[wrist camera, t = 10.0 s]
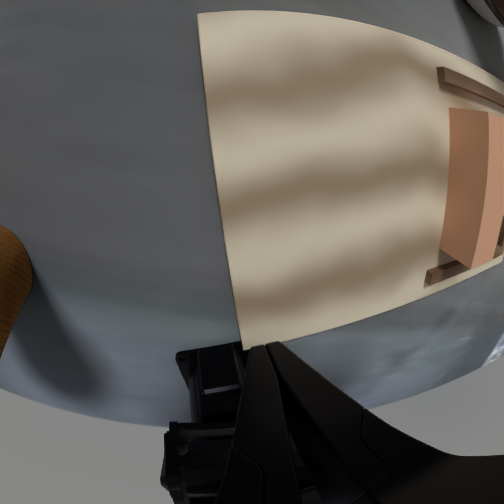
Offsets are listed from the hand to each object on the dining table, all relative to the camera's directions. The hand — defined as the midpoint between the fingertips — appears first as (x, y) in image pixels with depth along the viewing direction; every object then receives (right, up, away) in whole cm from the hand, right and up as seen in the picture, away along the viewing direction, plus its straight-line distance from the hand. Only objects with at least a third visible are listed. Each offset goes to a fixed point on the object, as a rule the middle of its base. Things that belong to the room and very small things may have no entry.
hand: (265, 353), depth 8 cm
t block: (+21, +10, +10) cm, 25 cm away
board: (+14, +9, +10) cm, 20 cm away
